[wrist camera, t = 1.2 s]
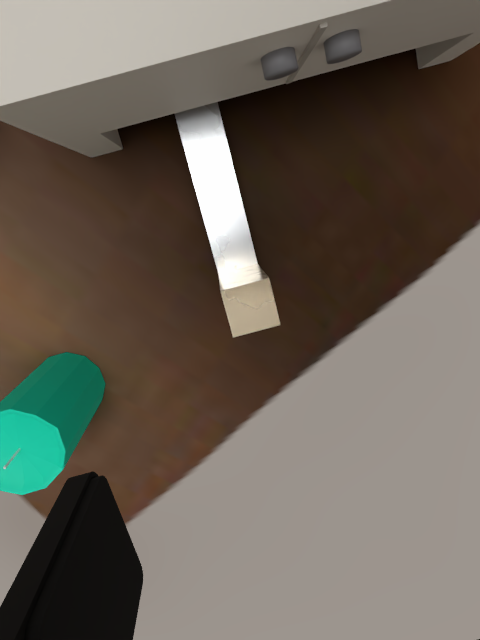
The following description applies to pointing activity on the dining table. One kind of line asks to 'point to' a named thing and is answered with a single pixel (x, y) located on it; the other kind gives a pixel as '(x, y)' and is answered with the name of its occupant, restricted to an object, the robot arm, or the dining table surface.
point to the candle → (46, 421)
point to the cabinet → (195, 54)
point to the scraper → (226, 221)
